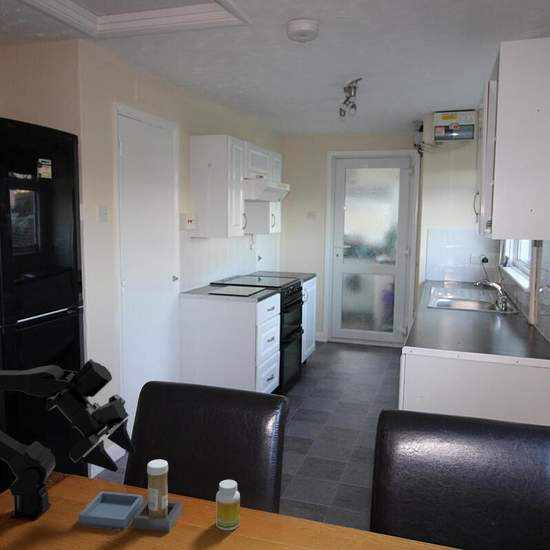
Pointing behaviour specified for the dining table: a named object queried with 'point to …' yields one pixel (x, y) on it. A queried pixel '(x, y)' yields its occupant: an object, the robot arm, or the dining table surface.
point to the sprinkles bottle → (157, 488)
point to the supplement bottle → (227, 505)
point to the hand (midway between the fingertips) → (125, 461)
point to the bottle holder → (157, 523)
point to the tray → (111, 510)
